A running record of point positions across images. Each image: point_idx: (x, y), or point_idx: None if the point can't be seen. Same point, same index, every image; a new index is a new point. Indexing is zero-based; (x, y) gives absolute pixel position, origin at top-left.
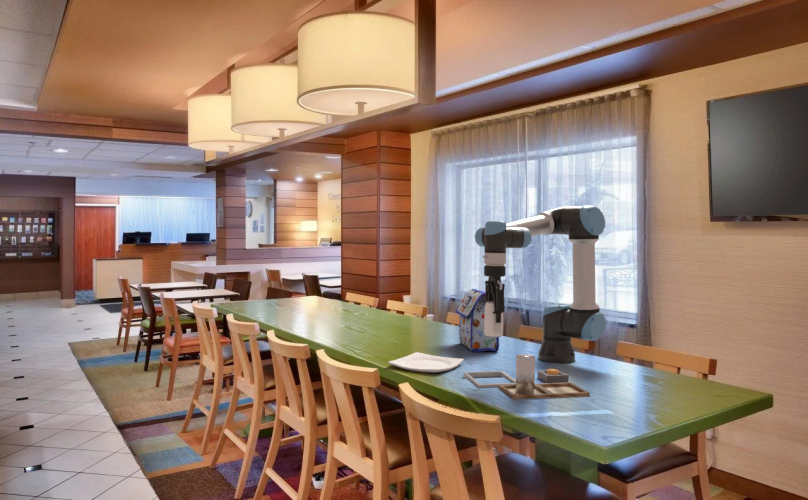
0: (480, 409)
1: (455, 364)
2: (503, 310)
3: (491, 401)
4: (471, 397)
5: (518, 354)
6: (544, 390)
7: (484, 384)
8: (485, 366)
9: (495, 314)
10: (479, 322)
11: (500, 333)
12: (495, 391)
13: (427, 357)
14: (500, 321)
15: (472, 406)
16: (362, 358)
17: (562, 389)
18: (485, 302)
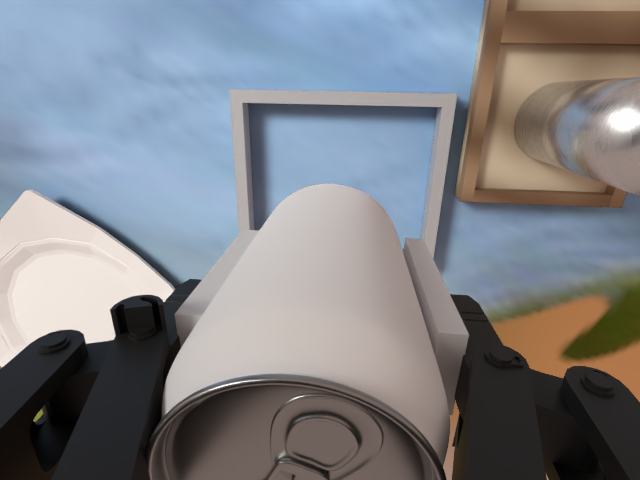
0: (624, 326)
1: (100, 239)
2: (627, 401)
3: (563, 267)
4: (497, 308)
5: (610, 166)
6: (610, 36)
7: (429, 247)
8: (70, 101)
9: (450, 390)
10: None
11: (394, 228)
12: (455, 209)
13: None
14: (479, 307)
15: (586, 336)
16: None
17: None
18: (46, 466)
